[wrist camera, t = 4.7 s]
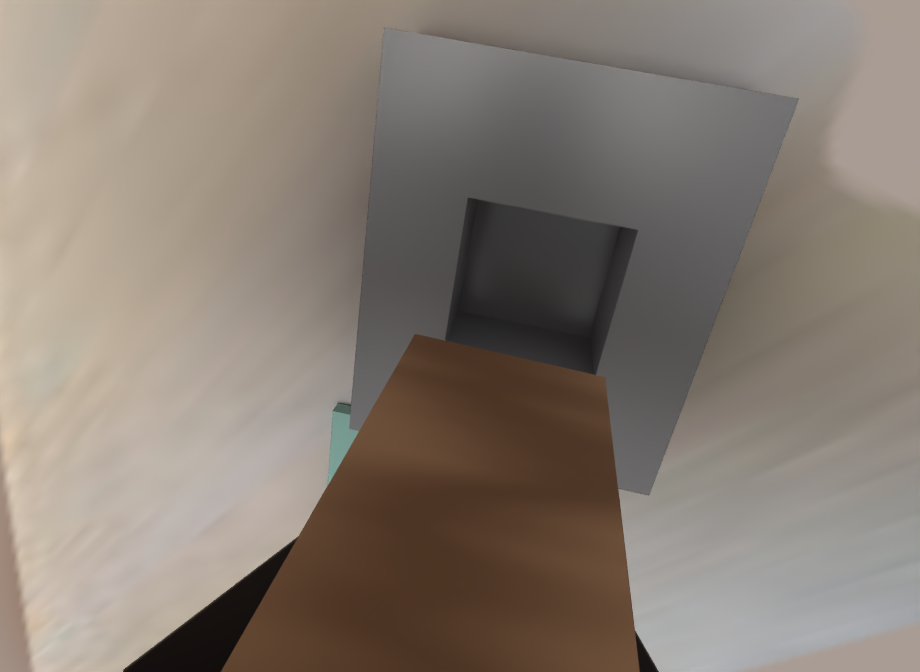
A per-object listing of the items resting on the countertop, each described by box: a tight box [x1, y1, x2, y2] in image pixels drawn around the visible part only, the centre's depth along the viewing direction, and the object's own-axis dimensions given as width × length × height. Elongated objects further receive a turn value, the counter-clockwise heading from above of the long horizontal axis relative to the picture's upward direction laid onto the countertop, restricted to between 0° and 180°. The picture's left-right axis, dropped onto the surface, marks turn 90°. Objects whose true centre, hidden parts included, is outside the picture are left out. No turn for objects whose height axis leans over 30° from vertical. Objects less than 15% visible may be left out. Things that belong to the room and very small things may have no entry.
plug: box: [221, 334, 640, 672], centre depth 9 cm, size 4×4×9 cm
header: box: [349, 28, 799, 495], centre depth 18 cm, size 10×12×4 cm
